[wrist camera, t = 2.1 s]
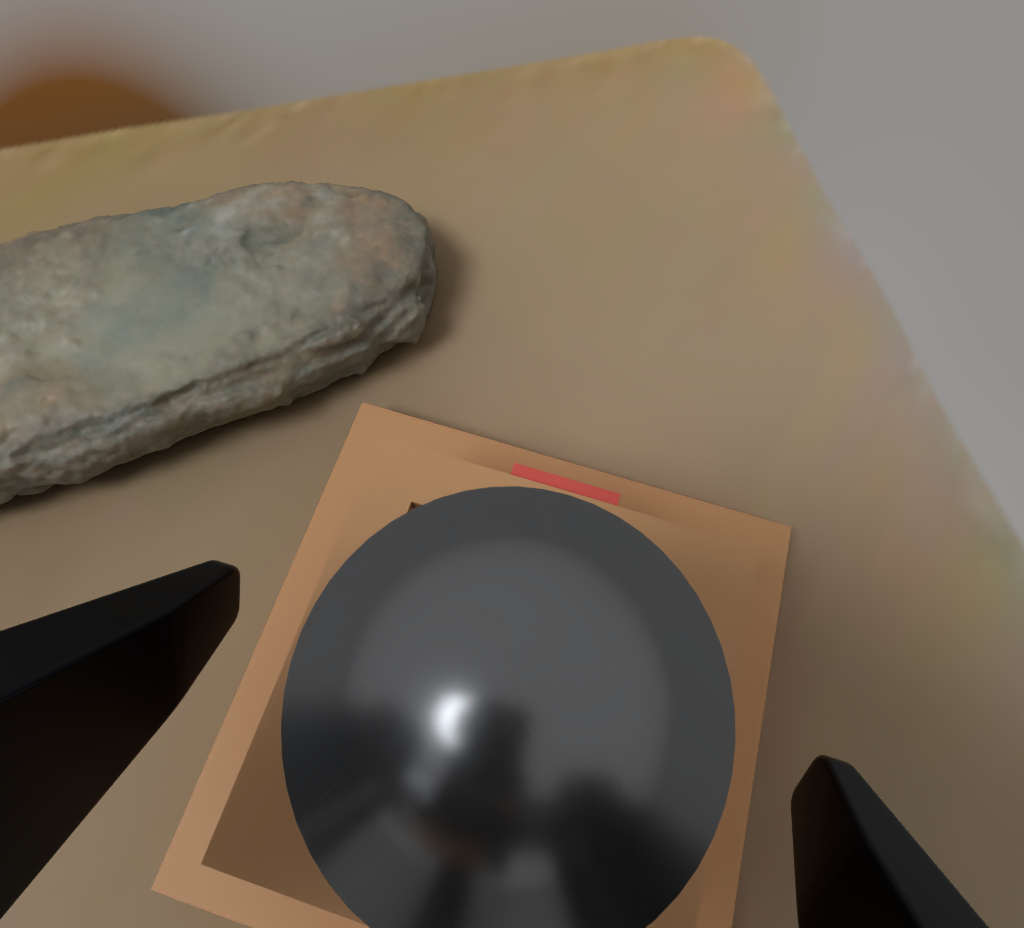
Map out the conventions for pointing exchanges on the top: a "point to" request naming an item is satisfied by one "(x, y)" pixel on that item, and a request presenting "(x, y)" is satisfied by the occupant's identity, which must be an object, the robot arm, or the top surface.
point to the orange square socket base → (325, 547)
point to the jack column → (508, 720)
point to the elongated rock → (195, 319)
